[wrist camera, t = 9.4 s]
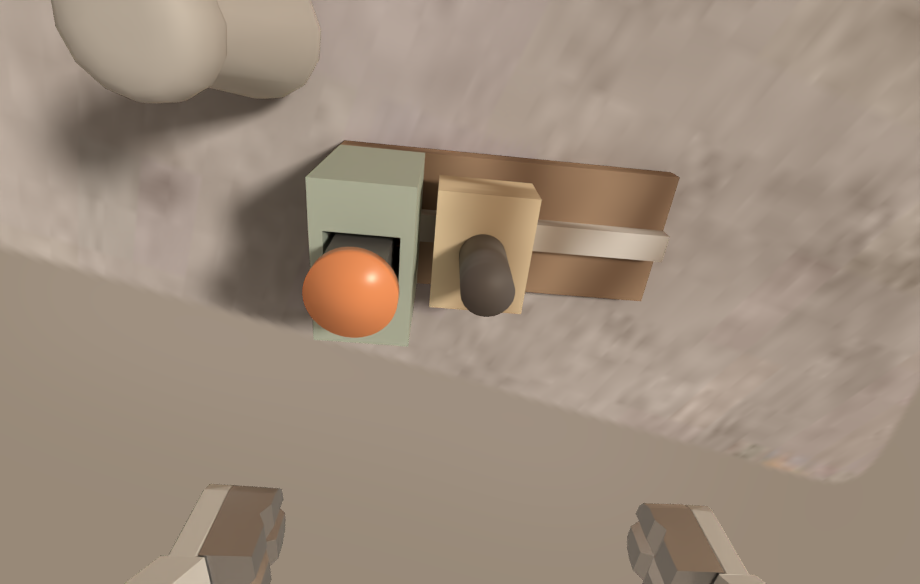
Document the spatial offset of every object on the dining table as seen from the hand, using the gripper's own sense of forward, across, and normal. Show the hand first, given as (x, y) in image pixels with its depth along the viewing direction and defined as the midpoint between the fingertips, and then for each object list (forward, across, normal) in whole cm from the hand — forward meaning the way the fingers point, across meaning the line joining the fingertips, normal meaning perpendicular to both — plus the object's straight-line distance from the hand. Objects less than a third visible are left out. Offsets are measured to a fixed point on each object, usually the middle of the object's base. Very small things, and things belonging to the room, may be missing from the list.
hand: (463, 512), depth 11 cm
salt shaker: (+21, +10, -9) cm, 25 cm away
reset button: (+15, +4, 0) cm, 15 cm away
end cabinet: (+19, +4, 0) cm, 20 cm away
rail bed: (+20, -3, 0) cm, 21 cm away
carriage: (+18, -2, 0) cm, 18 cm away
